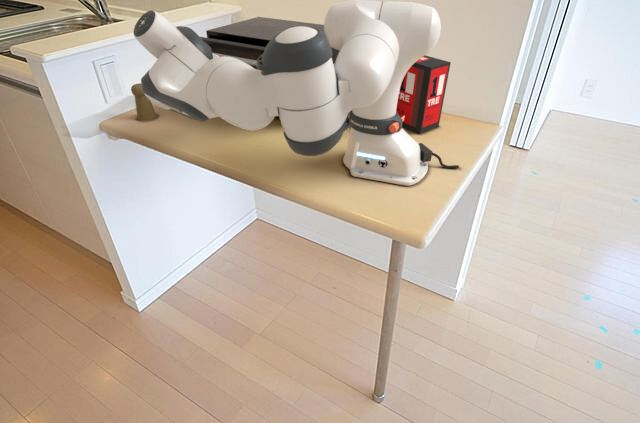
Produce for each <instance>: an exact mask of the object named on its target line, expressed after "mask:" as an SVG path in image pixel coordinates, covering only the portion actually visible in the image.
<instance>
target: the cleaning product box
mask: <svg viewBox="0 0 640 423" xmlns="http://www.w3.org/2000/svg"><path fill="white" fill-rule="evenodd" d="M451 63H452V62H451V61H448V60H443V59H441V58H437V57H433V56H429V55H427V54H426V55H425V56H423V57H422V58H420V59H419V60H417V61H416V62H415V63H414V64H413V65H412V66H411V67H410V69H409V70H408V71H407V73H406V75H405V76H404V78H403V81H402V83H401V87H400V91H399V96H398V102H397V109H396V111H397V113H398V115H399V116H400V117H401V118H402V117H403V116H405V117H404V121H403V122H402V128H404V129H407V130H409V131H412V132H414V133H417V134H419V135H422V134H424V133H427V132H429V131H432V130H434V129H437V128H439V127H440V121H441V117H442V111H443V105H444V102H445V101H444V100H445V96H446V90H447V86H448V85H447V84H448V78H449V74H450V68H451Z"/></svg>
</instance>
